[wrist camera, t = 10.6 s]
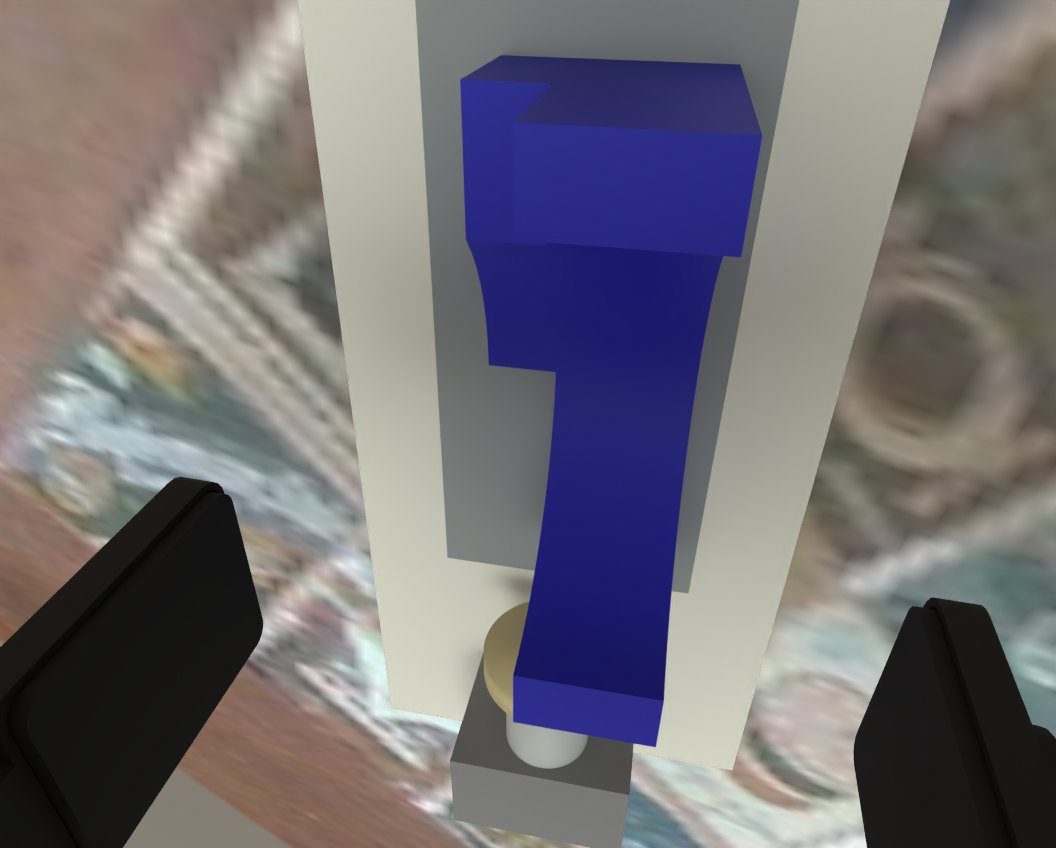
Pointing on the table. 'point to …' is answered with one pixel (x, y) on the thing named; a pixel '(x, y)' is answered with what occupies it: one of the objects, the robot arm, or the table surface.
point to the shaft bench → (528, 395)
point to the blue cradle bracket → (605, 341)
